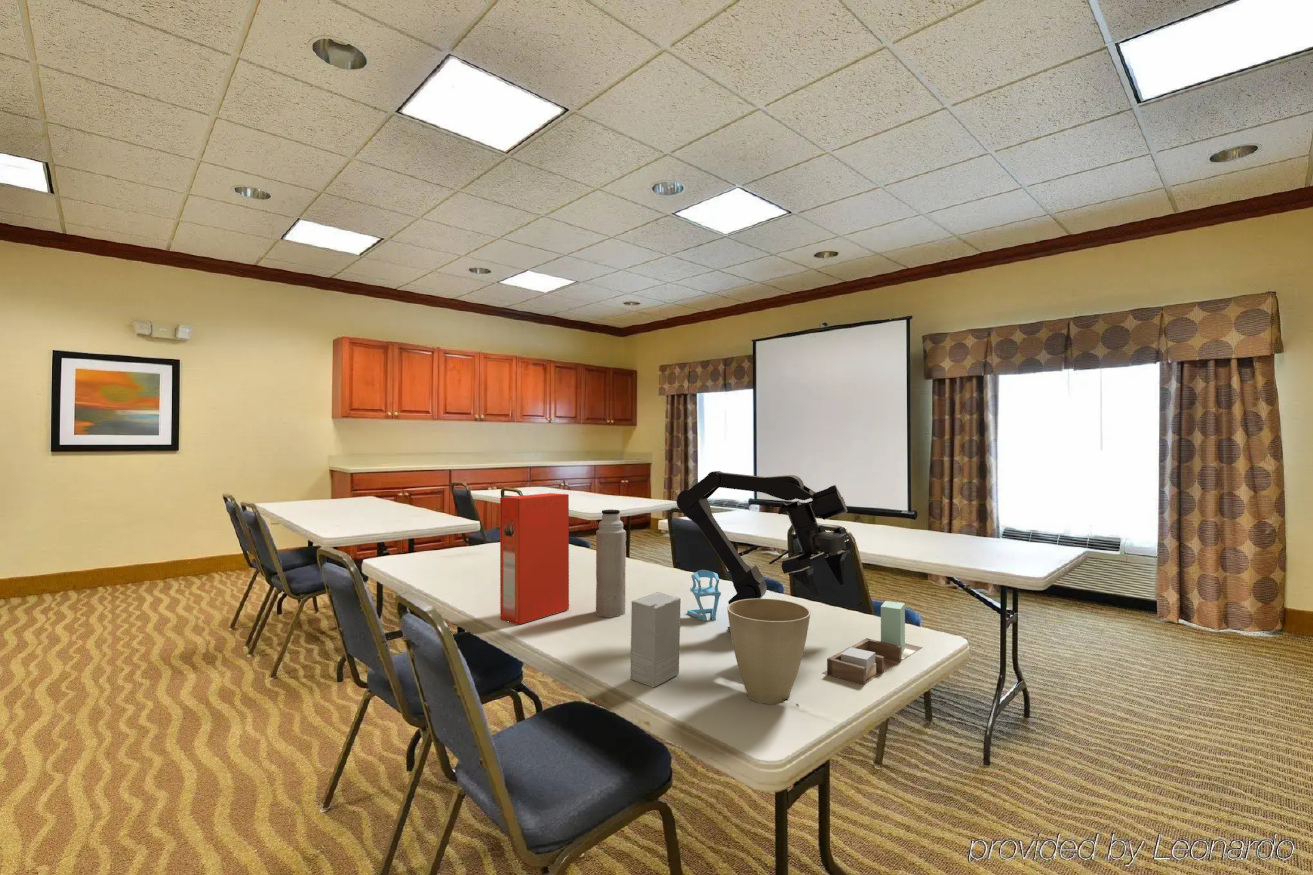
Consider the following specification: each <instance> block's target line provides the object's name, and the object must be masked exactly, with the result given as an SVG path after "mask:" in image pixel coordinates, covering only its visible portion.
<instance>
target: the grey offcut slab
mask: <svg viewBox="0 0 1313 875" xmlns="http://www.w3.org/2000/svg"><path fill="white" fill-rule="evenodd" d="M849 647H850V648H849ZM849 647H848V648H849V649H847V648H846V649H847V650H846V651H844V652H843V653H842V654H841V661H845V662H848V663H852V664H856V665H859V666H863V667H866V670H867V669H869V668H870V667H871V666H872V665H873V664H874V663H875V652H870V651H866V650H861V649H856V648H852V647H851V646H849Z"/></svg>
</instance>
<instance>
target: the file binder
mask: <svg viewBox="0 0 1313 875" xmlns="http://www.w3.org/2000/svg"><path fill="white" fill-rule="evenodd" d="M569 500H570V499H569V493H553V492H552V493H551V492H549V493H538V494H527V495H526V494H525V495H515V496H503V497H500V498H499V504H500V506H499V509H500V510H499V511H500V512H499V519H500V520H499V521H500V522H499V523H500V524H499V525H500V527H499V530H500V531H499V532H500V533H499V537H500V538H499V542H500V543H499V544H500V547H499V549H500V550H499V552H500V556H499V557H500V558H499V562H500V563H499V566H500V568H499V574H500V579H499V580H500V584H499V586H500V587H499V588H500V589H499V596H500V599H499V600H500V602H499V604H500V607H499V609H500V614H499V615H500V616H499V617H500V621H503V622H506V621H509V622H508V623H510V622H511V624H514V625H523V624H525V623H529V622H533V621H536V620H539V619H542V617H543V618H544V617H545V616H546V617H549V616H552V614H553V615H555V613H556V614H558V613H561V612H566V611H569V610H570V588H569V587H570V575H569V574H570V551H569V550H570V540H569V538H570V537H569V536H570V533H569V530H570V529H569V527H570V524H569V523H570V521H569V520H570V519H569V518H570V515H569V514H570V508H569V504H570V503H569ZM565 610H566V611H565Z"/></svg>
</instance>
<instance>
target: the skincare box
mask: <svg viewBox="0 0 1313 875" xmlns="http://www.w3.org/2000/svg"><path fill="white" fill-rule="evenodd" d="M681 604H682V603H681V598H680V597H677V596H673V595H670V594H666V593H663V592H659V591H658V592H653V593H651V594H648V595H646V596H642V597H639V598H636V599H634V600H631V622H630V624H631V625H630V630H631V631H630V676H629V677H630V680H633V681H635V682H638V683H641V684H643V685H645V686H648V685H649V687H652V688H655V687H656V688H657V686H660V685H661V684H663V683H665V682H667V681H669V680H670V679H672V678H674V677H676V676H678V675H679V674H680V646H681V645H680V644H681V643H680V641H681V639H680V638H681Z"/></svg>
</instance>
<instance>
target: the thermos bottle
mask: <svg viewBox="0 0 1313 875" xmlns="http://www.w3.org/2000/svg"><path fill="white" fill-rule="evenodd" d="M620 512H621V510H619V509H602V510H601V514H602V517H601V521H599V522H598V527H597V528H598V529H597V530H596V531H595V534H596V536H595V538H596V539H595V540H596V541H595V544H596V546H595V548H596V549H595V552H596V554H595V557H596V558H595V560H596V561H595V564H596V565H595V566H596V567H595V578H596V588H595V589H596V590H595V614H596V615H597V616H599V617H603V616H607V617H606V618H614V617H613V616H617V617H621V616H624V615H625V614H626V566H627V564H626V551H627V550H626V545H627V543H626V537H627V536H626V534H627V533H626V530H625V529H624V522H623V521H622V520H621V515H620Z"/></svg>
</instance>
